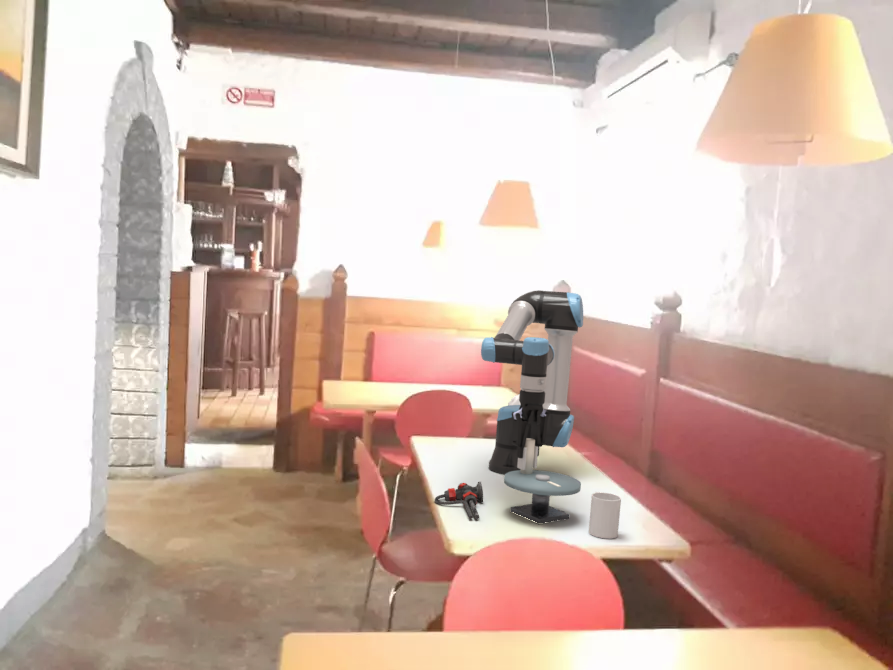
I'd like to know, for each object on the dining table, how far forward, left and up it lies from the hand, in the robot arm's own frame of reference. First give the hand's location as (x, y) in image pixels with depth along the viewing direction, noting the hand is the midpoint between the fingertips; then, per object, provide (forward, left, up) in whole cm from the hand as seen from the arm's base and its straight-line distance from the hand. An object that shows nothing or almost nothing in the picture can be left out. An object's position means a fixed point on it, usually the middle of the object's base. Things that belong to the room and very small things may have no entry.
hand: (526, 467), depth 230 cm
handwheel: (+8, -1, -3) cm, 8 cm away
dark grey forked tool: (-8, -17, -13) cm, 23 cm away
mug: (+26, +5, -12) cm, 29 cm away
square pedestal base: (+8, -1, -12) cm, 14 cm away
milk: (-58, +50, -12) cm, 78 cm away
